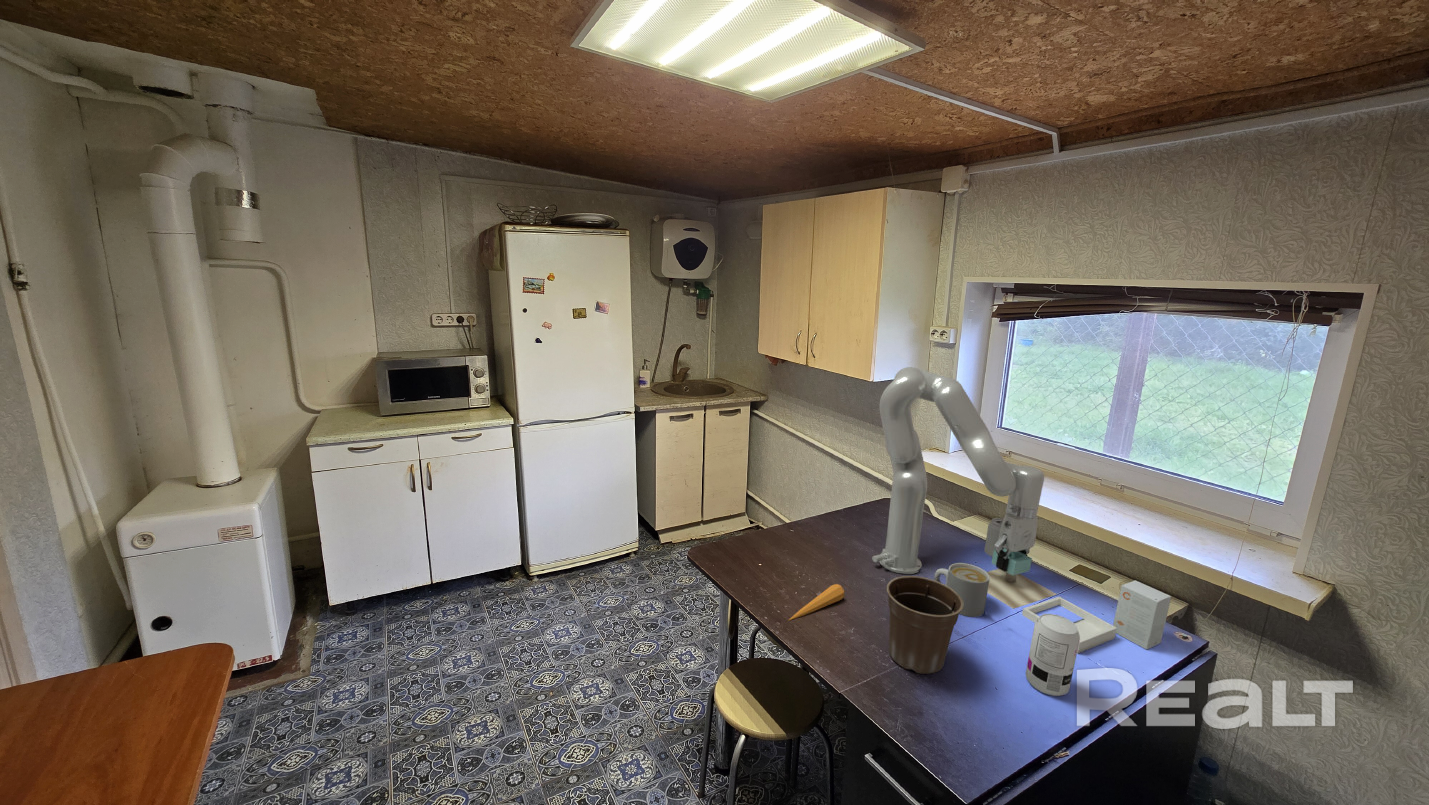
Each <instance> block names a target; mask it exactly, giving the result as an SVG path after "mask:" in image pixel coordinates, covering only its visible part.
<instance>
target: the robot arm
mask: <svg viewBox="0 0 1429 805" xmlns="http://www.w3.org/2000/svg"><path fill="white" fill-rule="evenodd" d="M917 399H921V400H925V401H927V402H932V403H934V404H935V406H936V408H937V410H938V411H939V412H940V415H941V416H942V417H943V419H944V421H945V423H946V424H947V426H948V427H949V429H950V431H951V432H952V435H953V436H954V437H955V439H956V441H957V443H958V444H959V446H960V447H961V449H962V450H963V452H964V453H965V455H966V456H967V458H968V460H969V461H970V463H971V464H972V466H973V468H974V469H975V471H976V472H977V475H978V476H979V478H980V479H981V482H982V483H983V484H984V486H985V488H986V489H987V491H988V492H989V493H991V494H992V495H994V496H996V497H1002V498H1003V497H1007V496H1008V499H1007V505H1006V509H1005V512H1006V513H1005V515H1004V517H1003V518H1002V519H1003V522H1002V526H1001V529H1000V534H999V539H998V542H997V543H996V544H995V545H994V548H995V550H996V552H997V555H998V557H997V562H996V566H995V567H996V569H1001V570H1002V571H1004V572H1006V571H1007V568H1008V563H1009V559H1008V557H1009V555H1010V553H1011V551H1012V552H1016V551H1019V552H1021V553H1023V554H1025V555H1027V556H1028V554H1029V553H1030V549H1032V548H1033V547H1035V544H1036V539H1037V538H1036V537H1037V533H1038V531H1037V530H1038V510H1039V506H1040V501H1041V495H1042V492H1043V491H1042V490H1043V486H1044V481H1045V474H1044V472H1043V471H1042V470H1041V469H1039V468H1037V467H1034V466H1030V465H1019V464H1018V465H1017V464H1014V463H1012V462H1011V463H1010V462H1007V461H1005V459H1004V457H1003V456H1002V454H1001V453H1000V451H999V449H998V447H997V445H996V444H995V442H994V440H993V437H992V435H991V432H990V430H989V429H988V427H987V425H986V423H985V422H984V420H983V418H982V417H981V415H980V414H979V412H978V410H977V409H976V407H975V405H974V404H973V402H972V400H971V399H970V397H969V395H968V394H967V392H966V390H965V389H964V387H963V385H962V384H961V383H960V382H959V381H958V380H956V379H954V378H952V377H948V376H944V375H941V374H937V373H933V372H931V371H927V370H923V369H920V368H916V367H904V368H903V367H902V368H901V369H900V370H899V371H897V373H896V374H895V376H894V379H893V380H892V382H890V384H888V385H887V386H886V387H885V389H884V390H883V392H882V394H881V396H880V400H879V413H880V414H879V415H880V420H881V427H882V432H883V437H884V441H885V450H886V452H887V455H888V456H889V458H890V463H891V466H892V472H893V474H892V483H891V491H890V492H891V494H890V502H889V509H888V510H889V512H888V522H887V528H886V529H887V531H886V538H885V548H882V552H881V553H879V554H877V555H873V556H871V557H872V558H871V559H872V562H874V563H878V562H879V563H880V565H881V566H882V567H883V568H885V569H886V570H888V571H891V572H894V573H896V574H902V575H914V574H917V573H919V572H920V571H921V570H922V569H921V568H922V566H923V564H922V561H921V559H920V558H918V555H919V548H920V539H921V533H922V532H921V531H922V525H923V516H924V508H925V504H926V503H925V502H926V497H927V494H928V493H927V492H928V478H927V472H926V471H927V470H926V467H925V463H924V462H925V461H924V456H923V453H922V452H923V451H922V447H921V442H920V438H919V435H918V433H917V430H915V427H914V423H913V417H912V414H911V413H912V412H911V407H912V404H913V403H914V402H915V401H916V400H917ZM1005 545H1007V547H1006V546H1005ZM1004 548H1005V549H1007V551H1006V553H1005V552H1004V551H1003V549H1004Z"/></svg>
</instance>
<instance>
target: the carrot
mask: <svg viewBox="0 0 1429 805" xmlns="http://www.w3.org/2000/svg"><path fill="white" fill-rule="evenodd" d="M844 597H845V590H844V588H843V587H842V586H841V585H840V584H838V583H835V584H832V585H830V586H829V587H828V588H826V589H825V590H824V591H823V592H821V593H820V594H818V595H817V596H816V597H814V598H813V599H812V600H811V601H810V602H808V603H807V604H805V605H804V606H803V607H802V608H800V609H799V610H798V611H797V612H796V613H794V614H793V615H792V617H790V618H789V619H787V622H789V621H791V620H794V619H797V618H800V617H803V616H805V615H808V614H811V613H812V612H815V611H817V610H820V609H822V608H825V607H827V606H829V605H832V604H834V603H837V602H839V601H840V600H843V598H844Z"/></svg>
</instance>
